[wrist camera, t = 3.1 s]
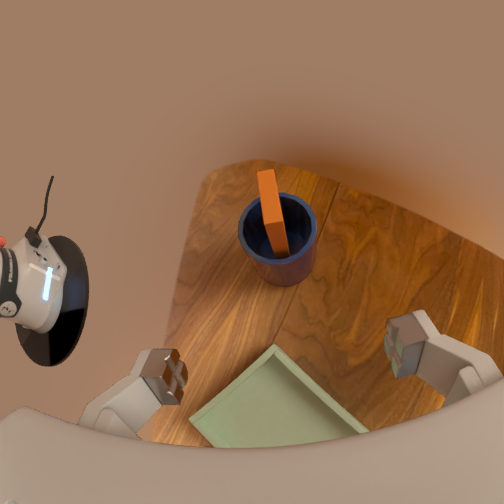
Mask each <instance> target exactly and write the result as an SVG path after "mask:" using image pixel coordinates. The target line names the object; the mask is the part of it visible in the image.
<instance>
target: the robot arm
mask: <svg viewBox="0 0 504 504" xmlns="http://www.w3.org/2000/svg"><path fill="white" fill-rule="evenodd" d="M53 178H54V176H52V177H51V179H50V182H49V186H48V189H47V193H46V198H45V205H44V214H43V217H42V219H41V221H40V223H39V225H38V227H37V229H34V228H32V227H31V226H30V227H29V229H28V230H27V232H26V234H25V237H26V238H23V239H21V240H20V241H19V242H17V243H16V244H15V245H14V246H13V247H12V248H11V249H5V248H3V247H4V245H5V244H6V240H4V238H3V237H0V317H3V318H6V319H8V320H10V321H13V322H15V323H17V324H20V325H22V326H23V328H26V329H32V330H34V331H36V332H37V333H41V334H43V333H46V332H48V331H49V330H50V329H51V328H52V327H53V326H54V324H55V322H56V320H57V318H58V316H59V313H60V309H61V305H62V298H63V284H64V281H65V277H66V273H67V267H66V265H65V264H64V263H63V261H62V260H61V258H60V257H59V255H58V254H57V252H56V251H55V249H54V248H53V246H52V245H51V243H50V242H49V240H48V239H47V237H46V236H45V235H40V236H39V234H38V232H39V229H40V227H41V225H42V223H43V221H44V220H45V217H46V212H47V202H48V195H49V191H50V187H51V184H52V181H53ZM385 327H386V329H387V331H388V332H387V333H386V334H385V336H384V349H385V353H386V356H387V358H388V359H389V360H391V361H392V364H391V368H392V370H393V373H394V375H395V378H396V379H399V378H403V377H407V376H410V375H414V374H416V375H417V376H418V377H419V378H421V379H422V380H423V381H425V382H426V383H427V384H429V385H430V386H431V387H433V388H434V389H435V390H437V391H438V392H439V393H441V394H442V395H443V396H445V397H446V400H445V402H444V404H443V405H442V407H441V408H440V409H438V410H435V411H433V412H430V413H427V414H425V415H422V416H419V417H416V418H414V419H411V420H408V421H405V422H401V423H398V424H395V425H392V426H388V427H385V428H381V429H377V430H373V431H370V432H365V433H361V434H357V435H352V436H347V437H342V438H337V439H332V440H326V441H319V442H313V443H305V444H296V445H287V446H275V447H257V448H212V447H194V446H182V445H173V444H164V443H157V442H150V441H144V440H142V439H141V438H140V437H139V436H138V435H137V434H136V433H137V432H138V431H139V430H140V428H141V427H142V426H143V425H144V424H145V423H146V422H147V421H148V420H149V419H150V418H151V417H152V416H153V415H154V414H155V413H156V412H157V411H158V410H159V409H160V407H161V406H162V405H180V404H181V401H182V397H183V394H184V392H183V390H182V388H183V387H184V386H185V385H186V384H187V380H188V371H187V367H186V365H185V363H184V362H182V361H181V360H179V358H180V354H179V352H178V351H177V349H143V350H141V352H140V354H139V356H138V358H137V359H136V361H135V363H134V365H133V367H132V369H131V371H130V373H129V375H128V376H125V377H123V378H122V379H121V380H119V381H118V382H117V383H115V384H114V385H112V386H111V387H110V388H108V389H107V390H106V391H104V392H103V393H101V394H100V395H99V396H97V397H96V398H95V399H93V400H92V401H90V402H89V403H88V404H87V405H86V407H85V409H84V411H83V413H82V415H81V417H80V419H79V421H78V423H77V425H76V424H73V423H70V422H67V421H64V420H61V419H58V418H56V417H53V416H50V415H47V414H45V413H42V412H40V411H37V410H35V409H32V408H30V407H27V406H23V407H20V408H18V409H16V410H14V411H12V412H11V413H9V414H8V415H6V416H5V417H3V418H1V419H0V504H504V377H503V375H502V374H501V372H500V371H499V369H498V368H497V366H496V364H495V363H494V361H493V360H492V358H491V357H490V355H488V354H486V353H483V352H481V351H479V350H477V349H475V348H473V347H471V346H468V345H466V344H464V343H462V342H460V341H458V340H455V339H453V338H451V337H449V336H447V335H445V334H443V335H440V333H439V332H438V330H437V329H436V327H435V326H434V324H433V323H432V321H431V320H430V319H429V317H428V316H427V314H426V313H425V311H424V310H422V309H421V310H417V311H414V312H411V313H408V314H404V315H400V316H396V317H392V318H388V319H387V321H386V326H385Z"/></svg>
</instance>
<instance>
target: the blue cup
mask: <svg viewBox="0 0 504 504" xmlns="http://www.w3.org/2000/svg"><path fill="white" fill-rule="evenodd" d="M278 194H279V199H280V204H281V209H282V214H283V220H284V225H285V230H286V236H287V242H288V247H289V253H290V257H288V258H285V259H276V258H275V255H274V252H273V249H272V246H271V243H270V240H269V237H268V235H267V232H266V229H265V226H264V221H263V214H262V208H261V201H260V197H259V198H257V199H256V200H254V201H253V202H252V203H251V204H250V205H249V206H248V207H246V208H245V210H244V212H243V214H242V216H241V218H240V220H239V224H238V237H239V240H240V242H241V245H242V247H243V249H244V251H245V252H246V254H247V256H248V257H249V259H250V261H251V262H252V264H253V265H254V267H255V269H256V270H257V272H258V273H259V274H260V276H261V277H262V278H263V279H264V280H266V281H267V282H269V283H270V284H273V285H276V286H282V287H286V286H292V285H295V284H297V283H299V282H301V281H302V280H304V279H305V278H306V277H307V276H308V275H309V273H310V272H311V270H312V267H313V264H314V261H315V251H316V239H317V224H316V217H315V215H314V213H313V211H312V210H311V208H310V206H309V205H308V204H307V203H305V202H304V201H303V200H302V199H300V198H299V197H297V196H294V195H291V194H287V193H278Z"/></svg>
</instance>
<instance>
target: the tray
mask: <svg viewBox="0 0 504 504" xmlns="http://www.w3.org/2000/svg"><path fill="white" fill-rule="evenodd" d="M188 420H189V421H190V422H191V423H192V424H193V425H194V426H195V428H196V429H197V430H198V431H199V432H200V433H201V434H202V435H203V436H204V437H205V438H206V439H207V440H208V441H209V442H210V443H211V444H212V445H213V446H214V447H215V448H257V447H275V446H287V445H296V444H305V443H313V442H319V441H326V440H332V439H337V438H342V437H347V436H352V435H357V434H361V433H365V432H370V431H369V430H368V429H367V428H366V427H364V426H363V425H362V424H361V423H360V422H359V421H358V420H356V419H355V418H354V417H353V416H352V415H351V414H350V413H349V412H347V411H346V410H345V409H344V408H343V407H342V406H341V405H340V404H338V403H337V402H336V401H335V400H334V399H333V398H332V397H331V396H330V395H329V394H327V393H326V392H325V391H324V390H323V389H322V388H321V387H320V386H319V385H318V384H317V383H316V382H315V381H313V380H312V379H311V378H310V377H309V376H308V375H307V374H306V373H305V372H304V371H303V370H302V369H301V368H300V367H299V366H298V365H297V364H296V363H295V362H293V361H292V360H291V359H290V358H289V357H288V356H287V355H286V354H285V353H284V352H283V351H282V350H281V349H280V348H279V347H278V346H277V345H276V344H272V345H271V346H270V347H269V348H268V349H267V350H266V351H265V352H264V353H263V354H262V355H261V356H260V357H259V358H258V359H257V360H256V361H254V362H253V363H252V364H251V365H250V366H249V367H248V368H247V369H246V370H245V371H244V372H242V373H241V374H240V375H239V376H238V377H237V378H236V379H235V380H234V381H232V382H231V383H230V384H229V385H228V386H227V387H226V388H224V389H223V390H222V391H221V392H220V393H219V394H217V395H216V396H215V397H214V398H213V399H212V400H210V401H209V402H208V403H207V404H206V405H204V406H203V407H202V408H201V409H199V410H198V411H197V412H196V413H195V414H193V415H192V416H191V417H190V418H188Z"/></svg>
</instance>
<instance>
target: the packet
mask: <svg viewBox="0 0 504 504" xmlns="http://www.w3.org/2000/svg"><path fill="white" fill-rule="evenodd" d="M256 174H257V181H258V187H259V194H260V201H261V208H262V214H263V221H264V226H265V229H266V232H267V235H268V237H269V240H270V243H271V246H272V249H273V252H274V255H275V258H276V259H285V258H288V257H290V253H289V247H288V242H287V236H286V230H285V225H284V220H283V214H282V209H281V204H280V199H279V194H278V189H277V184H276V179H275V174H274V170H273V169H270V170H264V171H259V172H256Z"/></svg>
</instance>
